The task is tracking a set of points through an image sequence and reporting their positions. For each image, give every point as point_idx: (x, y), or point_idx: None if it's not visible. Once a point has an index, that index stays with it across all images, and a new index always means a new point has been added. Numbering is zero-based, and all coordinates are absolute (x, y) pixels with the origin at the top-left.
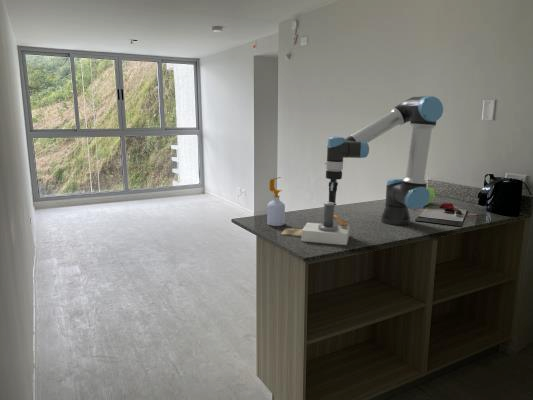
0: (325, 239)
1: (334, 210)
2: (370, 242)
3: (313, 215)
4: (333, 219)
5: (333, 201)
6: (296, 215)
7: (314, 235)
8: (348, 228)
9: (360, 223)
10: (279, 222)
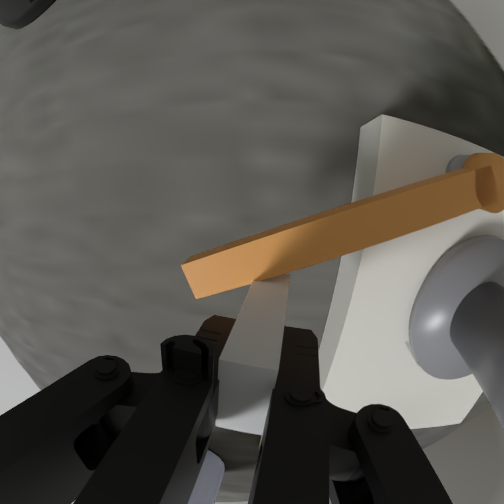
0: None
1: (249, 317)
2: (447, 33)
3: (20, 313)
4: (289, 276)
5: (433, 484)
6: (51, 373)
7: None
8: (462, 141)
9: (57, 83)
10: (214, 466)
